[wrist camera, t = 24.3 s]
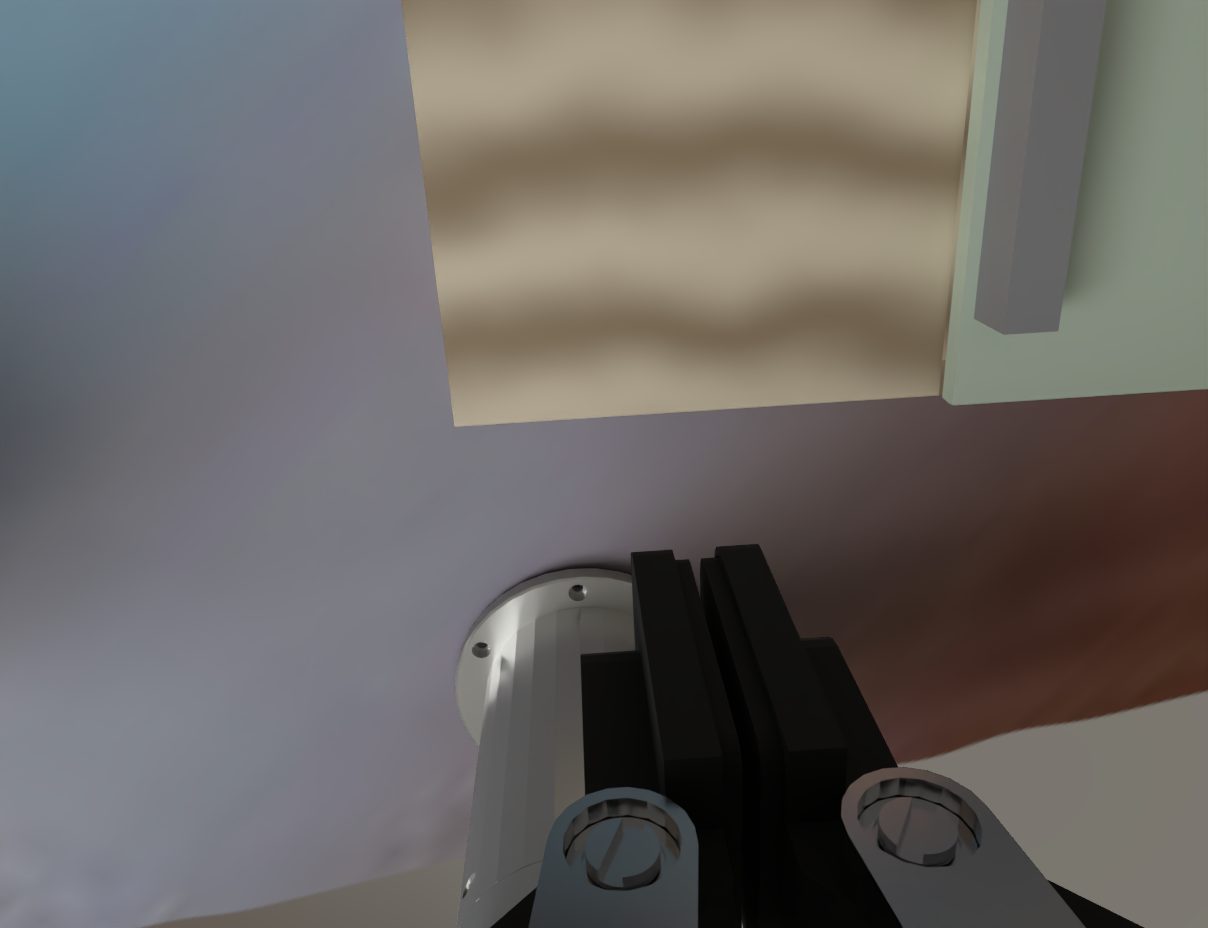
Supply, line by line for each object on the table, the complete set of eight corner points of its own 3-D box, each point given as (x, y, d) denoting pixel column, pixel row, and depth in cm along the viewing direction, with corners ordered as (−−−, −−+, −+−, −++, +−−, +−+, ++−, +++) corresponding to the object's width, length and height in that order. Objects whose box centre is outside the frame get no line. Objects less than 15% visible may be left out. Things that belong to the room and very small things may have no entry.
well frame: (1340, 350, 40) (1388, 366, 37) (460, 406, 39) (454, 426, 36) (1480, -160, 32) (1551, -180, 30) (399, -103, 31) (386, -119, 29)
